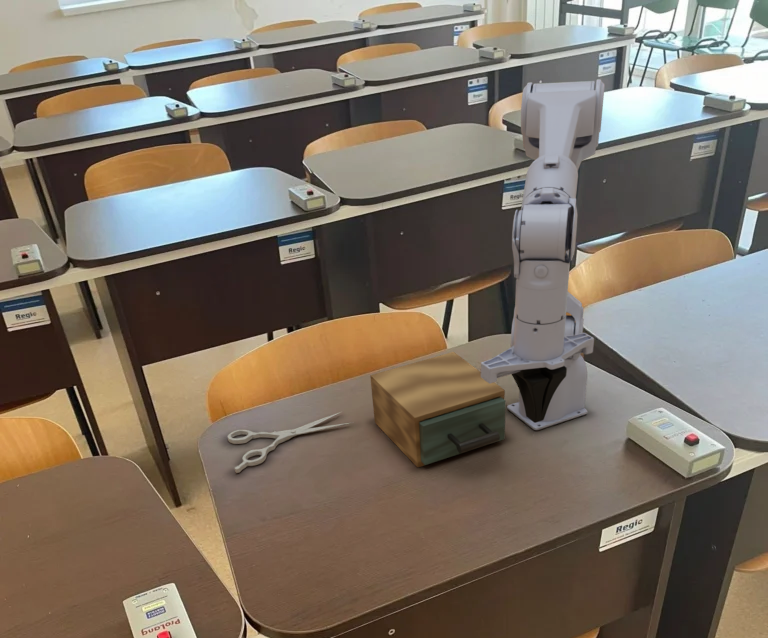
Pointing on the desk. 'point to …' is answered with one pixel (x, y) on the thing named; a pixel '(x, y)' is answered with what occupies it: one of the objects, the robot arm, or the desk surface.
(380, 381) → the cabinet
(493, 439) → the drawer
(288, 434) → the scissors
